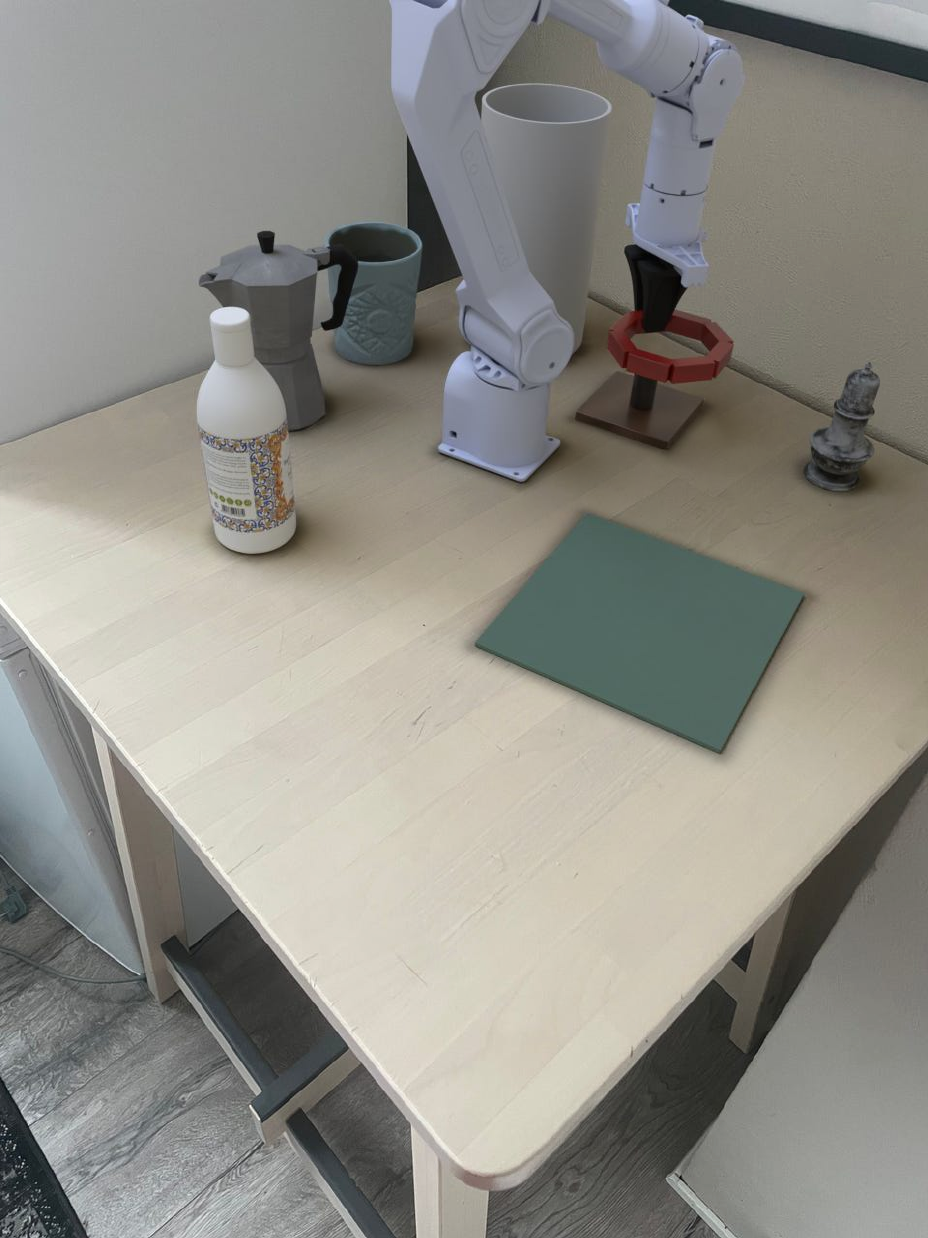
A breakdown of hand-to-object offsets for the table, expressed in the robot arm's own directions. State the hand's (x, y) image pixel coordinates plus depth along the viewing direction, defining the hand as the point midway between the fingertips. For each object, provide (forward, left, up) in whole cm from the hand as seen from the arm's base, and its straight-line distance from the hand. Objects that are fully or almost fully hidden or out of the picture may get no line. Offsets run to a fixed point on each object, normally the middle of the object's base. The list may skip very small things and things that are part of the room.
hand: (650, 325), depth 101 cm
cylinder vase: (-16, +6, -9) cm, 19 cm away
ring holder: (+1, -1, -9) cm, 9 cm away
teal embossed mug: (-29, -5, -9) cm, 31 cm away
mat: (+14, -30, -9) cm, 34 cm away
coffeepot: (-29, -20, -9) cm, 37 cm away
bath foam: (-19, -38, -9) cm, 44 cm away
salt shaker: (+21, -1, -9) cm, 23 cm away
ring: (+3, -3, 0) cm, 5 cm away
